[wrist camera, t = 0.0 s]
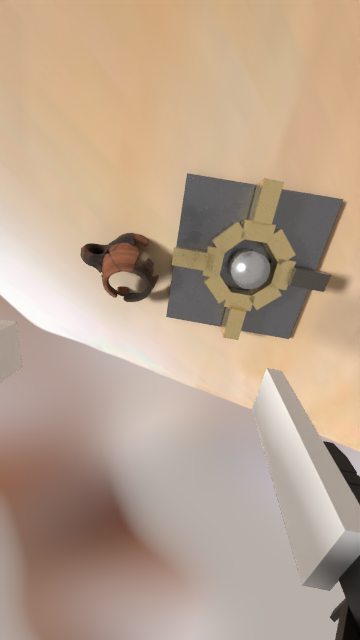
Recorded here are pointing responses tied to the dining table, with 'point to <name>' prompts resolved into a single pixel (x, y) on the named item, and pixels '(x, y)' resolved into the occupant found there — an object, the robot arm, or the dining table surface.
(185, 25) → the dining table surface
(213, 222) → the flange plate
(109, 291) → the pottery mug
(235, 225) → the ring nut
